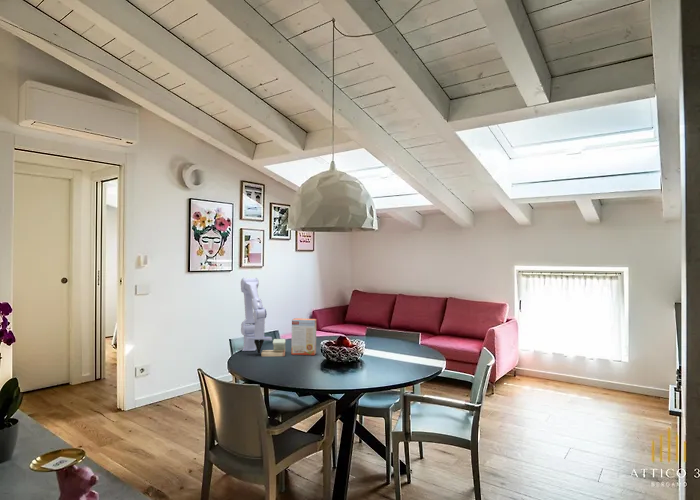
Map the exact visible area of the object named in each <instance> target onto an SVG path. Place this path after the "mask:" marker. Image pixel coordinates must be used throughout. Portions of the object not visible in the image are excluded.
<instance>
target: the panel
mask: <svg viewBox="0 0 700 500" xmlns="http://www.w3.org/2000/svg"><path fill="white" fill-rule="evenodd" d="M261 350H262V349H261ZM260 355H261V357H284V356H283V350H273V349H263V350H262V351H261V352H260Z"/></svg>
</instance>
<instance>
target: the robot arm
mask: <svg viewBox="0 0 700 500" xmlns="http://www.w3.org/2000/svg"><path fill="white" fill-rule="evenodd" d="M259 284H260V283H259V279H258V278H257V277H249V278H247V277H242V278H241V280H240V292H241V293H243V300H244V312H245V314H244V316H245V317H244V318H245V319H244V320H243V321H242V322H241V325H240V326H241V327H240V332H241V334H242V335H243V348H242V350H241V351H242V352H243V351H244V352H252V351H253V352H255V351H257V354H261V350H262V346H263V344H264V342H265V341H270V342H271V341H272V342H273V337H272V336H265V329H266V328H265V327H266V326H265V323H266V321H265V320H266V318H267V309H266V308H265V307H264V305H263V301H262V300H261V299H262V298H260V297H259V293H258V288H259Z"/></svg>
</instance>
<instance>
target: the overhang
mask: <svg viewBox="0 0 700 500" xmlns="http://www.w3.org/2000/svg"><path fill="white" fill-rule="evenodd" d="M286 340H287V339H286V338H273V339H272V345H273V349H272V350H283V356H282V357H285V356H286V342H287V341H286Z"/></svg>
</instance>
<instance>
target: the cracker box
mask: <svg viewBox="0 0 700 500" xmlns="http://www.w3.org/2000/svg"><path fill="white" fill-rule="evenodd" d="M290 345H291V352H290V353H291V355H295V356H296V355H297V356H298V355H300V356H315V355H316V354H317V318H303V317H301V318H297V317H296V318H293V319H292V320H291V344H290Z"/></svg>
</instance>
